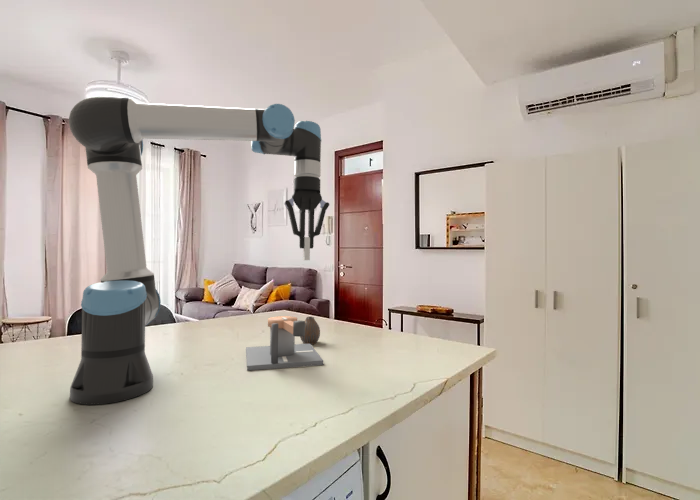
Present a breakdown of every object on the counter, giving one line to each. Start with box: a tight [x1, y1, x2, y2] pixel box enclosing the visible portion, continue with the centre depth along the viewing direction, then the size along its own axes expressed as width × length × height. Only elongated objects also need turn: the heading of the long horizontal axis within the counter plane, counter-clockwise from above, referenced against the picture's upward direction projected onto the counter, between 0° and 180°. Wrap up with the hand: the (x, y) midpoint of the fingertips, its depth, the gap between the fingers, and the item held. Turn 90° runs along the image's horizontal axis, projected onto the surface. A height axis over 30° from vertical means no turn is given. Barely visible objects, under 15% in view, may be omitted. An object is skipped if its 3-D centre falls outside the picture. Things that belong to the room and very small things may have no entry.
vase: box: [299, 316, 321, 345], centre depth 128 cm, size 7×7×9 cm
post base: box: [245, 323, 324, 371], centre depth 109 cm, size 20×20×12 cm
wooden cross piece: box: [267, 315, 305, 338], centre depth 104 cm, size 20×8×4 cm, turn 27°
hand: (306, 260), depth 107 cm, fingers closed
